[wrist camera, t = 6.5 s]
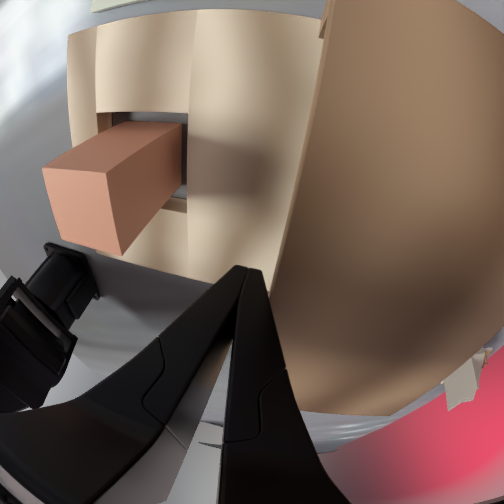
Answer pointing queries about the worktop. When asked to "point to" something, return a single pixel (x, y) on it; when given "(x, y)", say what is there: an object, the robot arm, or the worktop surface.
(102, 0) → the tile
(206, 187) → the board
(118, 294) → the worktop surface
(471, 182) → the brown wooden u-shape
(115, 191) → the block
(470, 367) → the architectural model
